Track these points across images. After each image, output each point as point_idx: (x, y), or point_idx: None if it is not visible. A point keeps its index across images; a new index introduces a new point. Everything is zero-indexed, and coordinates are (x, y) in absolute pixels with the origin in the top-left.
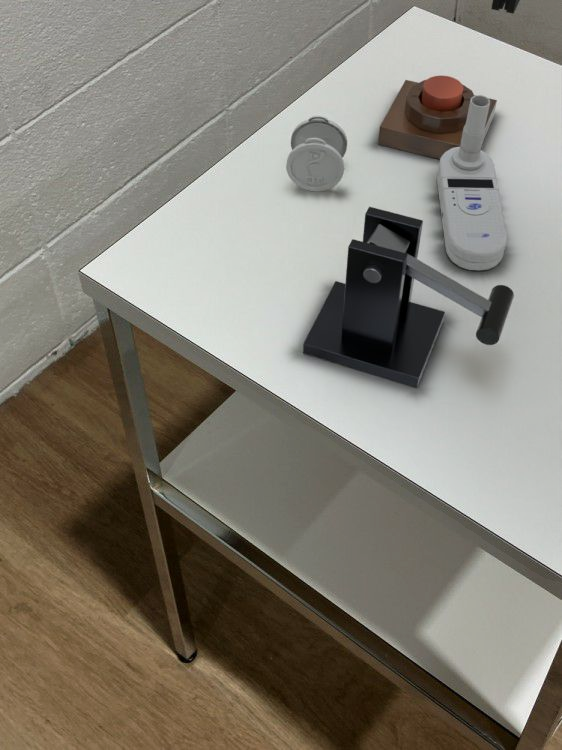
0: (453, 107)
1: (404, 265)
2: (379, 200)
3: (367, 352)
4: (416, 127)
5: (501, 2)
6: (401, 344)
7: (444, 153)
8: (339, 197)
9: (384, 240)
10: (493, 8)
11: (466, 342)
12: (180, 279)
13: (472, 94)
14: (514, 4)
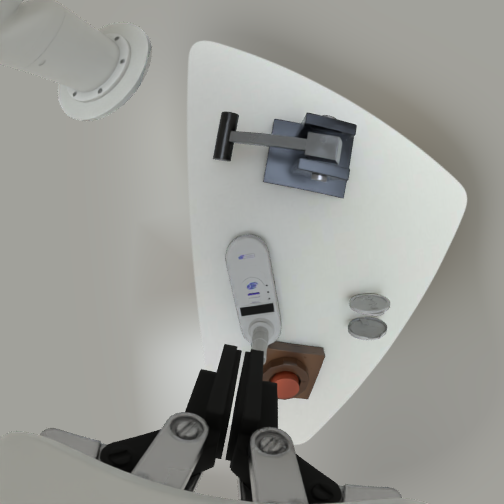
0: (275, 375)
1: (305, 116)
2: (319, 294)
3: None
4: (299, 359)
5: (247, 357)
6: None
7: (278, 336)
8: (346, 291)
9: (327, 143)
10: (260, 351)
11: (245, 165)
12: (430, 194)
13: None
14: (223, 351)
